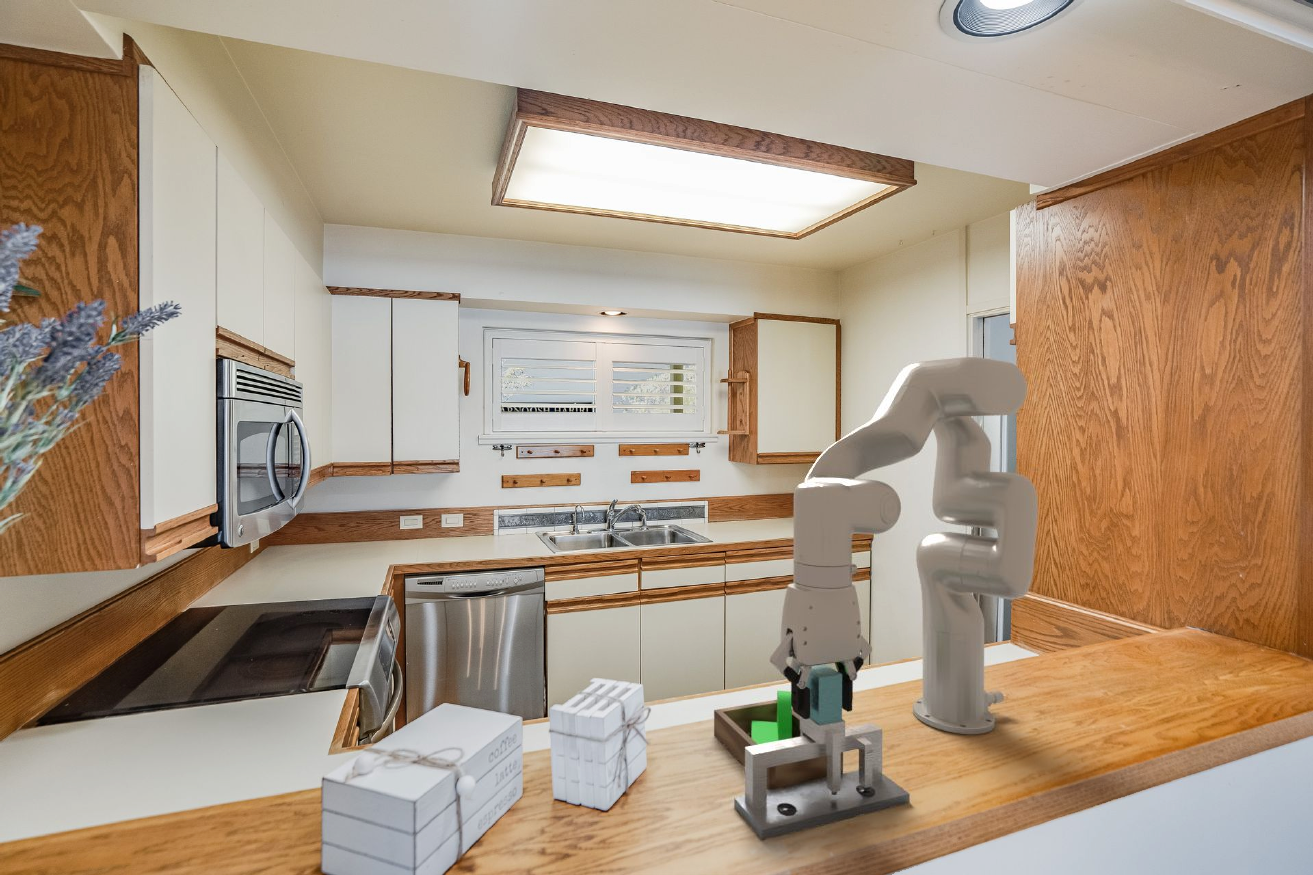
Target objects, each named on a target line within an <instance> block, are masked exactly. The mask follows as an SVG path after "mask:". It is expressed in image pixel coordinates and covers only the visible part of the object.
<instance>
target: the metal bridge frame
mask: <svg viewBox="0 0 1313 875" xmlns="http://www.w3.org/2000/svg"><path fill="white" fill-rule="evenodd" d="M855 750H858V770H859V784H860V785H862V787H863V788H864V789H869V787H871V786H872V781H877V780H881V779H882V774H883V728H881V727H879V726H878V725H877V724H875V723H873V722H870V723H865V724H859V725H854V726H849V727H845V740H841V752H843V753H845V752H846V753H847V752H850V751H855ZM826 755H827V743H825V744H820V745H819V744H818V743H817V742H815V741H814V740H813V739H811V738H810V737H809V736H808V735H806V736H801V737H796V738H791V739H785V740H780V741H775V742H770V743H765V744H759V745H754V746H749V747H745V766H744V796H745V801H746V802H747V803H748V805H749V806H750V807H751V808H752V809H756V808H760V807H765V806H767V768H768V767H773V766H778V765H783V764H788V763H793V762H797V761H802V760H807V759H812V758H817V757H821V756H826Z"/></svg>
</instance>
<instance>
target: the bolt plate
mask: <svg viewBox="0 0 1313 875" xmlns="http://www.w3.org/2000/svg"><path fill="white" fill-rule="evenodd" d="M910 795H911V794H910V793H909V792H908V791H907V790H905V789H904V788H903V787H902V786H900V785H899V784H897V783H896V782H895V781H893V780H892V779H890V778H889V777H888V776H886V775H885V774H884V773H882V779H881V780H877V781H872V786H871V787H869V789H864V788H863V787H862V785H860V784H859V769H858V770H853V771H849V772H845V773H844V772H843V774H841V791H837V795H832V794H831V790H829V789H828V788H827V777H826V778H821V779H817V780H812V781H808V782H803V783H799V784H794V785H790V786H785V787H781V788H776V789H772V790H767V806H765V807H760V808H756V809H752V808H751V807H750V806H749V805H748V803H747V802H746V801H745V795H741V796H737V797H734V799H733V801H734V802H733V803H734V804H733V806H734V808H735V810H736V811H737V812H738V813H739V814H740V816H741V817H742V818H743V819H744V821H745V822H746V823H747V825H748V826H750V828H751V829H752V830H753V831H754V833H755V834H756V835H757V836H758V837H759V839H760V840H761V841H764V840H769V839H772V838H775V837H781V836H783V835H788V834H791V833H796V832H799V831H803V830H808V829H811V828H816V827H819V826H824V825H827V824H831V823H835V822H840V821H843V820H848V819H852V818H855V817H856V818H857V817H858V816H859V817H860V816H863V815H867V814H871V813H875V812H878V811H883V810H886V809H890V808H894V807H898V806H903V805H906V804H909V803H910V798H911V796H910Z"/></svg>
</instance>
